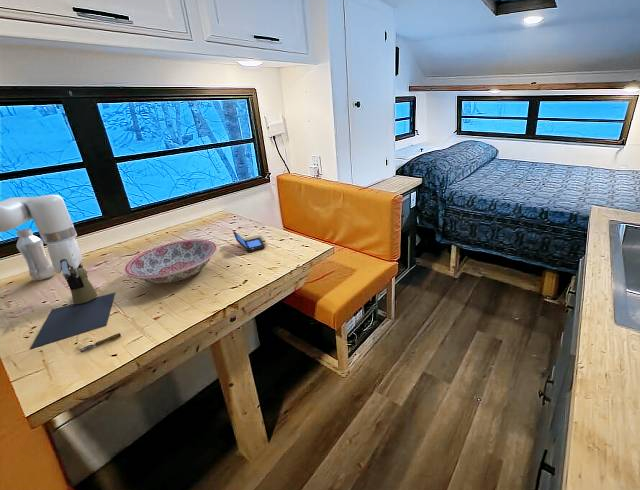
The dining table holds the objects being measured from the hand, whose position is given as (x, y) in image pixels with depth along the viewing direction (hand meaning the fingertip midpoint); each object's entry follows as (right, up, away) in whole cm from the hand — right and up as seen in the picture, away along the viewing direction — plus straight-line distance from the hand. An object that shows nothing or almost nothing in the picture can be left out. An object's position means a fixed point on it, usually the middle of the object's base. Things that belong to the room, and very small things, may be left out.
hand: (79, 283), depth 101 cm
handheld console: (+40, +7, +38) cm, 55 cm away
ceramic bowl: (+22, -1, +17) cm, 27 cm away
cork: (0, -6, +2) cm, 6 cm away
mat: (+5, -9, -6) cm, 12 cm away
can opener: (+23, -13, -17) cm, 31 cm away
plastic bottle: (-30, -2, +16) cm, 34 cm away
